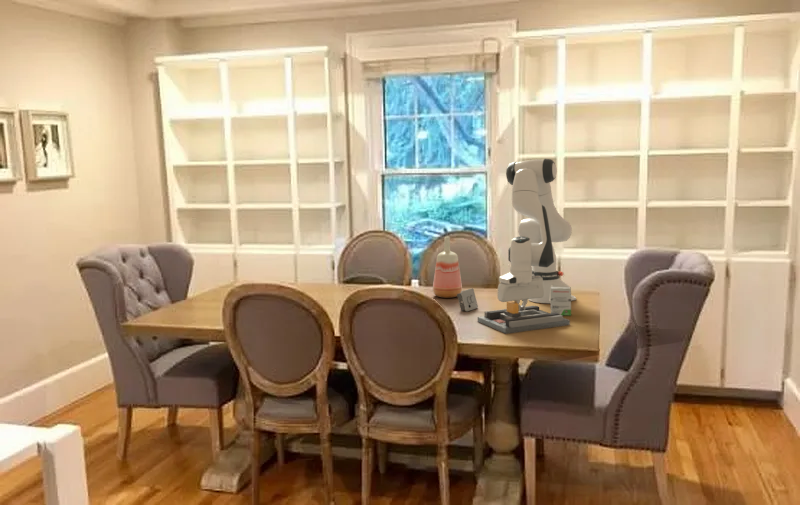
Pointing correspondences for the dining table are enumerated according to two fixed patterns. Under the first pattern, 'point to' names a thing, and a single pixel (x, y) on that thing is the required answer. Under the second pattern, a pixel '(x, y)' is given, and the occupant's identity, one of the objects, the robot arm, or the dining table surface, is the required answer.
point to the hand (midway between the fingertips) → (520, 310)
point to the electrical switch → (467, 300)
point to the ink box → (561, 300)
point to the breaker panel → (502, 327)
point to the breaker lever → (512, 309)
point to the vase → (447, 273)
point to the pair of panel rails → (528, 319)
